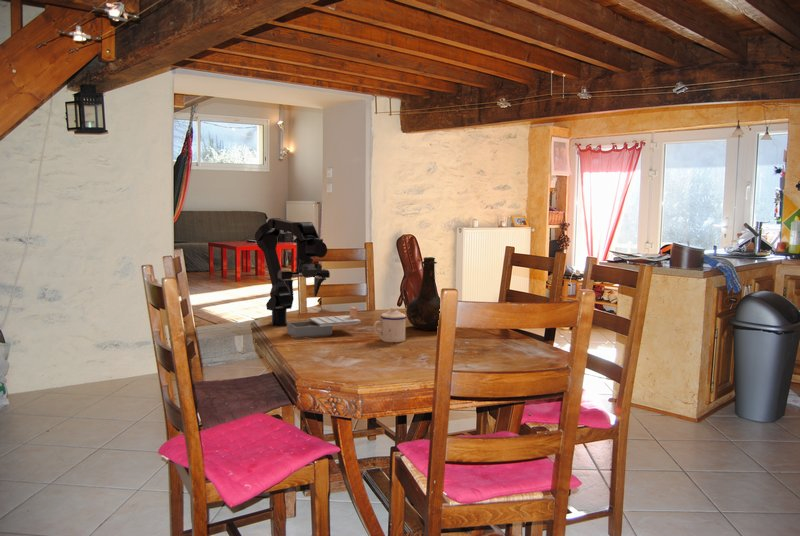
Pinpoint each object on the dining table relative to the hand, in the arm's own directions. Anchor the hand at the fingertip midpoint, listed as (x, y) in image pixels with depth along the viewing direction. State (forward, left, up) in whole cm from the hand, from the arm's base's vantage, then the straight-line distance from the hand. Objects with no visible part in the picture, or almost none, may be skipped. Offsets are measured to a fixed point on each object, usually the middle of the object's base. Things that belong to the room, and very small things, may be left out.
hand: (303, 296), depth 239 cm
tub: (+7, 0, -13) cm, 15 cm away
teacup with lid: (+27, +23, -13) cm, 38 cm away
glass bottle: (+13, +47, -13) cm, 50 cm away
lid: (+7, +10, -9) cm, 15 cm away
